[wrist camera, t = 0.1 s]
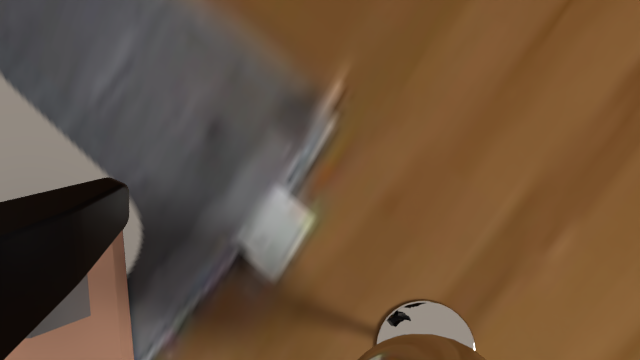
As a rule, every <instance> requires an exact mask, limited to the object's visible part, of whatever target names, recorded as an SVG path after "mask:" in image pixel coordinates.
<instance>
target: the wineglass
mask: <svg viewBox="0 0 640 360" xmlns="http://www.w3.org/2000/svg"><path fill="white" fill-rule="evenodd" d="M357 360H486V359H485V358H484V357H482V356H481V355H480V354H479V353H477V352H476V346H475V341H474V338H473V334H472V332H471V330H470V328H469V326H468V325H467V323H466V322H465V321H464V319H463V318H462V317H461V316H460V315H459V314H458V313H456V312H455V311H454V310H453V309H451V308H449V307H447V306H446V305H444V304H441V303H438V302H434V301H429V300H417V301H413V302H409V303H405V304H403V305H401V306H400V307H398V308H396V309H395V310H393V311H392V312H391V313H390V314H389V315H388V316H387V317H386V319H385V320H384V322H383V323H382V325H381V327H380V330H379V332H378V335H377V342H376V345H375V346H373V347H372V348H371V349H369V350H368V351H367V352H365V353H364V354H363V355H362V356H361V357H360V358H359V359H357Z"/></svg>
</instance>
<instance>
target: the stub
mask: <svg viewBox="0 0 640 360" xmlns="http://www.w3.org/2000/svg"><path fill="white" fill-rule="evenodd" d="M4 360H134V354H133V342H132V331H131V320H130V309H129V297H128V286H127V275H126V264H125V252H124V241H123V230H122V231H121V232H120V234H119V235H118V236H117V237H116V239H115V240H114V241H113V242H112V244H111V245H110V246H109V247H108V249H107V250H106V251H105V252H104V254H103V255H102V256H101V257H100V259H99V260H98V261H97V262H96V264H95V265H94V266H93V267H92V269H91V270H90V271H89V272H88V273H87V275H86V276H85V277H84V278H83V279H82V281H81V282H80V283H79V284H78V285H77V286H76V287H75V288H74V289H73V290H72V291H71V293H70V294H69V295H68V296H67V297H66V298H65V299H64V300H63V301H62V302H61V303H60V304H59V305H58V306H57V307H56V308H55V309H54V310H53V311H52V312H51V313H50V314H49V315H48V316H47V317H46V318H45V319H44V320H43V321H42V322H41V323H40V324H39V325H38V326H37V327H36V328H35V329H34V330H33V331H32V332H31V333H30V334H29V335H28V336H27V337H26V338H25V339H24V340H23V341H22V342H21V343H20V344H19V345H18V346H17V347H16V348H15V349H14V350H13V351H12V352H11V353H10V354H9V355H8V356H7V357H6V358H5V359H4Z"/></svg>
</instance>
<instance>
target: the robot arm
mask: <svg viewBox="0 0 640 360" xmlns="http://www.w3.org/2000/svg"><path fill="white" fill-rule="evenodd" d="M128 218H129V189H128V187H127V185H125V184H124V183H122V182H119V181H117V180H115V179H113V178H102V179H98V180H94V181H89V182H85V183H81V184H77V185H72V186H68V187H64V188H60V189H55V190H51V191H47V192H43V193H38V194H34V195H29V196H25V197H21V198H17V199H12V200H8V201H4V202H0V360H4V359H5V358H6V357H7V356H8V355H9V354H10V353H11V352H12V351H13V350H14V349H15V348H16V347H17V346H18V345H19V344H20V343H21V342H22V341H23V340H24V339H25V338H26V337H27V336H28V335H29V334H30V333H31V332H32V331H33V330H34V329H35V328H36V327H37V326H38V325H39V324H40V323H41V322H42V321H43V320H44V319H45V318H46V317H47V316H48V315H49V314H50V313H51V312H52V311H53V310H54V309H55V308H56V307H57V306H58V305H59V304H60V303H61V302H62V301H63V300H64V299H65V298H66V297H67V296H68V295H69V294H70V293H71V291H72V290H73V289H74V288H75V287H76V286H77V285H78V284H79V283H80V282H81V281H82V279H83V278H84V277H85V276H86V275H87V273H88V272H89V271H90V270H91V269H92V267H93V266H94V265H95V264H96V262H97V261H98V260H99V259H100V257H101V256H102V255H103V254H104V252H105V251H106V250H107V249H108V247H109V246H110V245H111V244H112V242H113V241H114V240H115V239H116V237H117V236H118V235H119V234H120V232H121V231H122V230H123V229H124V227H125V226H126V224H127V222H128Z"/></svg>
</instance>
